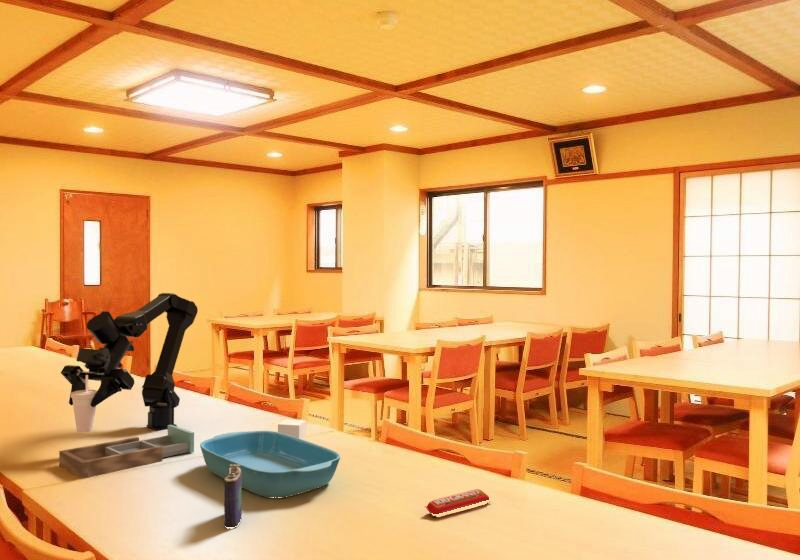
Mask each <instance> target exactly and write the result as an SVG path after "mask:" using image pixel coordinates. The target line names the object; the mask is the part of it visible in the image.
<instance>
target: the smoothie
mask: <svg viewBox="0 0 800 560" xmlns="http://www.w3.org/2000/svg"><path fill="white" fill-rule="evenodd" d="M88 387H89V380H88V375H86V390H79V391H74V392H72V393H71V392H70V394H71V398H72V400H73V405H72V407H73V412H74V421H75V428H76V429H75V430H76V432H78V433H88V432H92V431H93V430H94V426H95V425H94V424H95V417H96V410H97V405H96V406H95V407H92V406H91V402H92V400H93V398H94V396H95V394H96V393H97V391H98V389H89V388H88Z"/></svg>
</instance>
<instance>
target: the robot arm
mask: <svg viewBox="0 0 800 560" xmlns="http://www.w3.org/2000/svg"><path fill="white" fill-rule="evenodd" d="M164 313H166V320H167V324H168V328H167V331H166V334H165V338H164V341H163V344H162V347H161V352H160V355H159V357H158V361H157V363H156V367H155V370H154V372H152V373H151V374H146V375H145V378H144V382H143V384H142V386H141V389H142V390H141V396H142V399H143V400H142V401H143V404H144V407H149V409H148V412H147V424H146V427H148V428H150V429H153V430H155V431H159V430H165V429H168V425H174V426H177V427H178V425H177V424H175V408H177V407H179V404H180V401H181V398H180V396H179V395H178V394H177V393H176V391H175V386H176V384H175V381H174V377H173V373H174V370H175V367H176V363H177V361H178V356H179V353H180V350H181V347H182V344H183V340H184V336H185V333H186V331H187V329H188V328H190V327H191V326H192V325H193V324H194V322H195V319H196V317H197V315H198V306H197V305H196V303H195V302H194V301H193V300H192V301H191V300H188V299H186V298H183V297H180V296H179V295H178V294H176V293H169V292H162V293H159V294H158V295H157V296H156V297H155V298H153V299H152V300H151V301H148V303H146V304H145V305H143V306H142V307H140V308H138V309H137V310H135V311H131V312H126V313H123V314H121V315H117V316H116V317H115V318H113V316H112V314H111V313H110V311H107V310H103V311H101V312H100V313H99V314H97V315H94V316H93V317H92V318H91V319H88V321H87V323H86V329H87V330H88V331H89V332H90V333H91V335H92V336H93V338H95V340H96V341H97V342H98V343H99V344H101V345H103V346H102V347H99V348H98V349H94V348H79V350H78V353H77V356H76V362H78V363H79V362H80V363H83V364H84V367H85V369H86V370H88V371H85V370H84V369H83V368H82V367H81V366H80V365H75V364H74V365H71V364H68V365H67V364H66V365H64V367H63V368H62V370H61V371H60V374H61V375H62V376H63V378H65V379H66V381H67V382H68V383H69V384H71V389H70V395H69V400H68V404H69V405H70V406H73V400H72V398H71V393H72V392H74V391H79V390H86V375H88V381H89V380H90V381H96V382H97V381H98V382H100V386H99V388H98V389H97V393H96V394H95V396H94V398H93V400H92V402H91V406H92V407H95V406H96V407H97V406H98V405H100V404H101V403H103V401H105V400H107V399H109V398H110V397H111V396H113V395H116V394H117V393H118V392H122V390H127V391H131V390H132V388H133V387H134V385H135V378H134V377H133V376H132V375H131V373H129V371H128V370H127V369H125V368H122V366H123V364H122V362H121V361H122V360H123V358H124V356H125V355H126V353H127V352H134V351H135V346H134V344H133V341H131V340H129V339H128V338H139V337H141V336H142V335H144V333H145V332H146V331H147V329H148V325H149V324H150V323H151V322H153V321H154V320H155V319H157V318H158V317H159V316H161V315H163V314H164ZM89 388H90V387H89V386H88V389H89Z"/></svg>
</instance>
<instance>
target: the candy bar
mask: <svg viewBox="0 0 800 560" xmlns="http://www.w3.org/2000/svg"><path fill="white" fill-rule="evenodd" d="M489 497H490V496H489V495H488V494H487V493H485V492H484V491H483V490H481V489H477V488H476V489H472V490H467V491H464V492H459V493H456V494H452V495H447V496H444V497H439V498H436V499H433V500H430V501H429V502H428V504H427V506H424V508H426V509H427V512H428V511H429V514H430V513H433V514H439V513H443V512H447V511H451V510H454V509H457V508H461V507H465V506H469V505H472V504H476V503H479V502H482V501H486V500H489Z"/></svg>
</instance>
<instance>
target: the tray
mask: <svg viewBox="0 0 800 560" xmlns="http://www.w3.org/2000/svg"><path fill="white" fill-rule="evenodd" d="M157 446H162V459H163V458H166V457H167V458H168V457H172V456H176V455H177V456H178V455H181V454H186V453H190V454H191V453H194V452H195V432H194V431H190V430H188V429H185V428H183V427H179V426H178V425H177V426H174V425H168V428H167V435H162V436H158V437H151V438H148V439H142V440H139V441H135V442H130V443H125V444H120V445H114V446H109V447H105V457H107V456H112V455H117V454H122V453H127V452H132V451H137V450H142V449H147V448H152V447H157Z"/></svg>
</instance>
